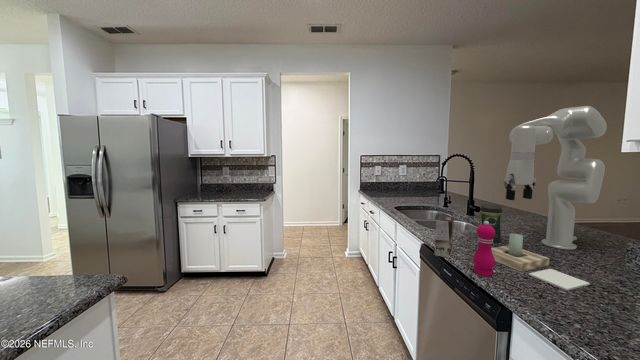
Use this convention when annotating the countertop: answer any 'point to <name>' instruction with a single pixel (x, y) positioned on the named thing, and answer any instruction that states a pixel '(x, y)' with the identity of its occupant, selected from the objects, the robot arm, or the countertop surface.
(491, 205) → the coffee jar
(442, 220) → the coffee box
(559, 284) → the mat
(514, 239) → the peg
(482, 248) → the pepper mill
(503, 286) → the countertop surface
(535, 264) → the wooden square frame
